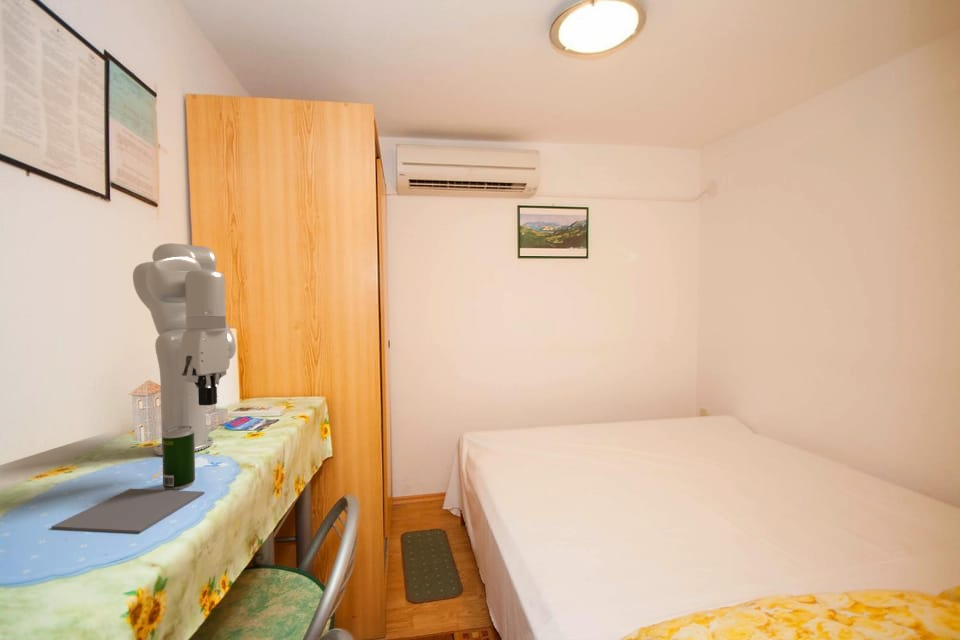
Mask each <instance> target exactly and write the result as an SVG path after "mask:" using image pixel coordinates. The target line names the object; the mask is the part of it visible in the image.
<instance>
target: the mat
mask: <svg viewBox="0 0 960 640" xmlns="http://www.w3.org/2000/svg"><path fill="white" fill-rule="evenodd" d="M204 494H205V491H198V490H197V491H196V490H166V489H150V488H149V489H146V488H129V489H126V490H125V491H123V492H120V493H119V494H116V495H114V496H112V497H110V498H107V499H106V500H104V501H101V502H99V503H98V504H95V505H93V506H91V507H89V508H87V509H85V510H83V511H80V512H78V513H76V514H75V515H72V516H70V517H68V518H66V519H63V520H62V521H59V522H58V523H55V524H53V525H52V526H51V530H52V529H54V530H66V531H67V530H68V531H69V530H71V531H72V530H73V531H88V530H89V531H92V532H111V533H132V534H141V533H142V532H144V531H146V530H147V529H149V528H151V527H152V526H154V525H155V524H157V523H159V522H161V521H162V520H164V519H165V518H167V517H169V516H170V515H172V514H174V513H176V512H177V511H179V510H181V508H183V507H186V506H187V505H188V504H190V503H192V502H194V501H195V500H196V499H198V498H200V497H202V496H203V495H204Z"/></svg>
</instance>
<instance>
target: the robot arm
mask: <svg viewBox="0 0 960 640" xmlns="http://www.w3.org/2000/svg"><path fill="white" fill-rule="evenodd" d="M152 260H153V261H147V262H143V263H140V264H138V265H136V266H135V267H134V269H133V272H132V283H133V287H134V290H135V292H136V294H137V296H138V298H139V300H140V301H141V302H142V303H143V305H144V306H145V307H146V308H147V309H148V310H149V312H150V315H151V318H152V320H153V324H154V326H155V329H156V332H157V333H158V336H157V338H156V339H155V345H154V347H155V353H156V358H157V363H158V368H159V376H160V377H159V378H160V382H159V383H160V410H161V411H160V412H161V413H160V417H161V418H160V420H161V421H160V423H161V437H162V436H163V434H164V430H166V429H169V428H173V427H178V426H192V427H193V430H194V439H195V451H196V452H199V451H202V450H205V449H207V448H209V447H210V446H212V445H213V444H214V438H213V437H211V436H210V435H209V434H210V433H211V432H214V431H216V430H217V429H218V428H219V427H218V424H217V423H215V422H214V423H212V424H209V425H207V410H206V409H207V406H213V405H216V404H218V391H217V390H218V386H219V384H220V380H221V378H223V377H225V376H226V375H227V371H228V369H229V368H230V365H231V364H230V363H231V361H230V360H231V359H232V358H233V357H234V356H235V354H236V350H237V345H236V340H235V337H234V334H233V332H232V331H231V328H230V327H229V324H228V323H227V319H226V315H227V313H226V311H227V310H226V278H225V275H224V274H223V273H222V272H220V271H218V270H217V264H218V263H217V262H218V261H217V257H216V254H215V253H214V251H213V250H212V249H210V248H209V247H206V246H202V245H192V244H182V243H163V244H160V245H158V246H157V247H155V248H154V250H153V252H152ZM212 443H213V444H212ZM211 444H212V445H211ZM208 446H209V447H208ZM206 447H207V448H206ZM204 448H205V449H204ZM201 449H202V450H201ZM198 450H199V451H198ZM153 451H154V452H153V453H154V454H155V455H157V456H162V442H161V443H159V444H157V445H156V446H154V448H153Z"/></svg>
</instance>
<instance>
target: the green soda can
mask: <svg viewBox="0 0 960 640" xmlns="http://www.w3.org/2000/svg"><path fill="white" fill-rule="evenodd" d="M161 443H162V455H163V456H162V455H161V456H162V486H163V488H164V490H177V491H181V490H184V489H187V488H189V487H190V486H193V485H194V482H195V480H196V461H195V460H196V455H195V454H196V452H195V439H194V430H193V427H192V426H178V427H173V428H169V429H166V430H164V434H163V436H162V435H161Z"/></svg>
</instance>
